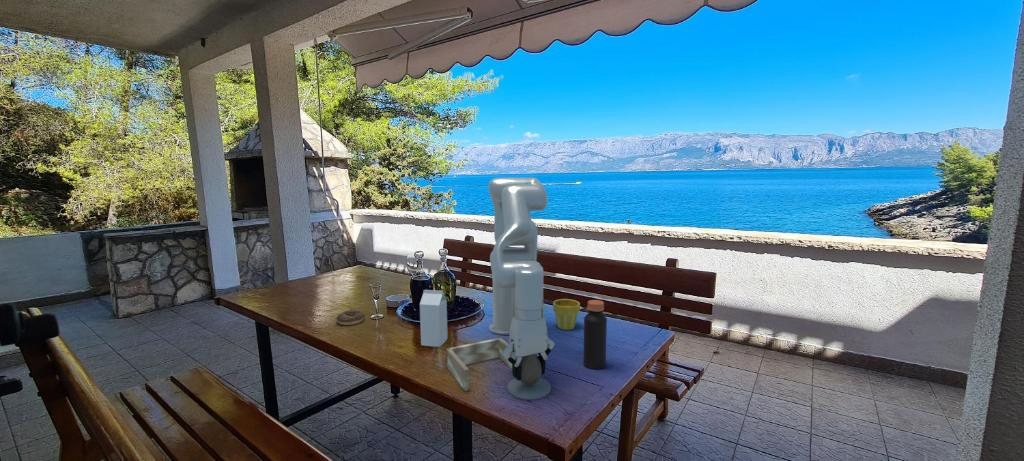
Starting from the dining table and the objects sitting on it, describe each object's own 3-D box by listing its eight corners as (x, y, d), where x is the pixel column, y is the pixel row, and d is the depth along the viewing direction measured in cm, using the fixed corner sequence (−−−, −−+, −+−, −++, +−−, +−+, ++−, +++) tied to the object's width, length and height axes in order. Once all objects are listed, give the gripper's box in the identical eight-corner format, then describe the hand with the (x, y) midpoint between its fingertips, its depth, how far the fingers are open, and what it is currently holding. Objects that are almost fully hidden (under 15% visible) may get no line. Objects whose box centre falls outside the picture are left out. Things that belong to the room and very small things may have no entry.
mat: (536, 374, 120) (536, 372, 120) (559, 392, 109) (559, 390, 109) (500, 383, 114) (500, 381, 114) (520, 404, 104) (520, 402, 104)
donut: (355, 316, 173) (354, 306, 172) (370, 321, 166) (369, 311, 166) (331, 323, 164) (330, 313, 164) (346, 328, 158) (345, 318, 157)
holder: (500, 355, 133) (500, 337, 132) (524, 376, 119) (524, 356, 118) (446, 367, 125) (446, 348, 124) (465, 391, 110) (464, 370, 110)
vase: (515, 376, 115) (515, 346, 114) (539, 375, 116) (539, 345, 114) (517, 388, 108) (517, 357, 107) (543, 387, 109) (543, 356, 108)
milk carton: (440, 347, 139) (438, 293, 137) (420, 345, 141) (419, 292, 138) (447, 339, 146) (446, 288, 144) (429, 338, 148) (427, 287, 145)
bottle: (601, 371, 121) (602, 306, 119) (579, 366, 125) (581, 303, 122) (608, 363, 127) (610, 301, 124) (588, 358, 131) (589, 297, 128)
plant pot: (585, 328, 157) (585, 303, 156) (565, 333, 151) (565, 308, 150) (567, 320, 165) (567, 297, 164) (547, 325, 160) (547, 301, 158)
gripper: (548, 304, 117) (548, 363, 119) (494, 313, 109) (494, 376, 111) (563, 311, 110) (563, 374, 112) (506, 322, 102) (506, 389, 104)
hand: (529, 374), depth 112 cm, fingers closed on vase, 6 cm apart
